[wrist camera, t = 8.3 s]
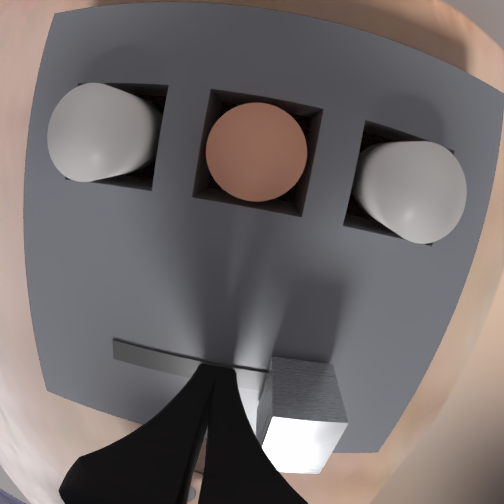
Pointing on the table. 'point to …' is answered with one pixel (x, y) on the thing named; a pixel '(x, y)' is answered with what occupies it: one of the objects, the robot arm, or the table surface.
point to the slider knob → (300, 415)
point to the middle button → (256, 152)
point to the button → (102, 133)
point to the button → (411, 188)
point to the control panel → (245, 215)
